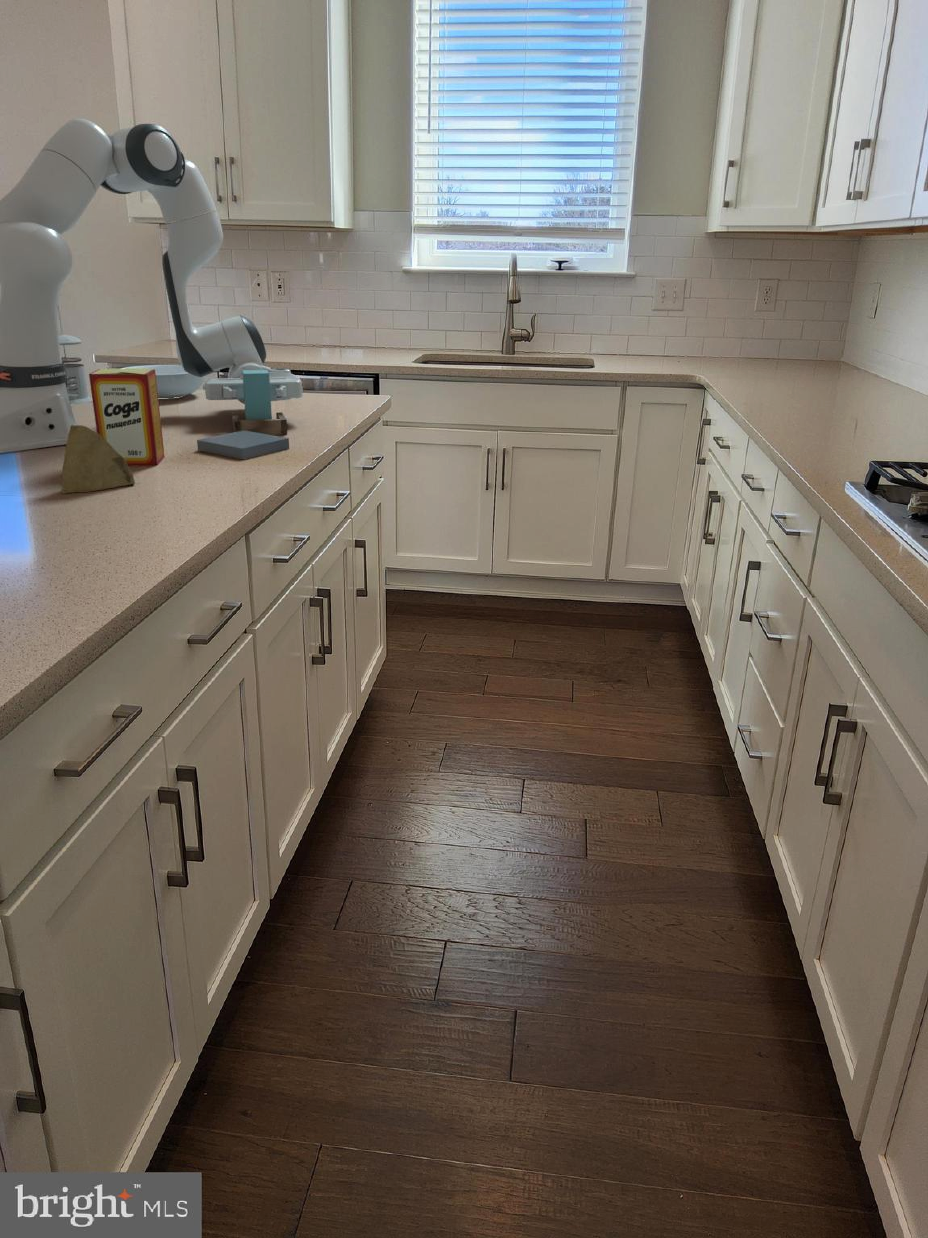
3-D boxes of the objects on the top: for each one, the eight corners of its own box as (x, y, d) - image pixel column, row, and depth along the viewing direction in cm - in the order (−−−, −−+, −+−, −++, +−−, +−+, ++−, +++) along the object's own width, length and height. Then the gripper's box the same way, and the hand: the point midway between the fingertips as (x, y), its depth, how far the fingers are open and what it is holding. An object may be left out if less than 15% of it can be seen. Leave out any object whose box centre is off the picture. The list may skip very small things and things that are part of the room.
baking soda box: (101, 465, 158) (88, 371, 152) (110, 457, 164) (98, 366, 158) (157, 465, 159) (146, 372, 153) (164, 457, 165) (154, 366, 159)
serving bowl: (219, 392, 235) (217, 364, 233) (188, 405, 216) (185, 375, 214) (141, 389, 237) (138, 362, 235) (104, 402, 218) (101, 372, 215)
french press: (78, 404, 214) (62, 292, 204) (34, 402, 216) (16, 290, 206) (101, 398, 223) (87, 290, 213) (59, 395, 225) (43, 288, 215)
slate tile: (243, 459, 165) (242, 448, 164) (197, 450, 171) (196, 439, 170) (289, 448, 174) (288, 438, 173) (244, 440, 180) (244, 430, 179)
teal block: (248, 433, 187) (243, 373, 182) (246, 428, 191) (242, 370, 187) (272, 432, 188) (269, 373, 184) (270, 427, 193) (266, 369, 188)
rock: (145, 464, 150) (84, 455, 149) (135, 429, 143) (71, 419, 142) (126, 517, 145) (63, 507, 144) (115, 483, 137) (48, 473, 137)
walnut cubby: (235, 436, 184) (234, 421, 183) (232, 428, 191) (231, 413, 190) (287, 434, 187) (286, 419, 185) (282, 426, 194) (281, 412, 193)
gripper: (201, 370, 195) (203, 379, 183) (296, 368, 200) (305, 377, 188) (203, 400, 197) (205, 411, 185) (298, 397, 203) (306, 408, 191)
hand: (256, 394), depth 187 cm, fingers open, 8 cm apart
